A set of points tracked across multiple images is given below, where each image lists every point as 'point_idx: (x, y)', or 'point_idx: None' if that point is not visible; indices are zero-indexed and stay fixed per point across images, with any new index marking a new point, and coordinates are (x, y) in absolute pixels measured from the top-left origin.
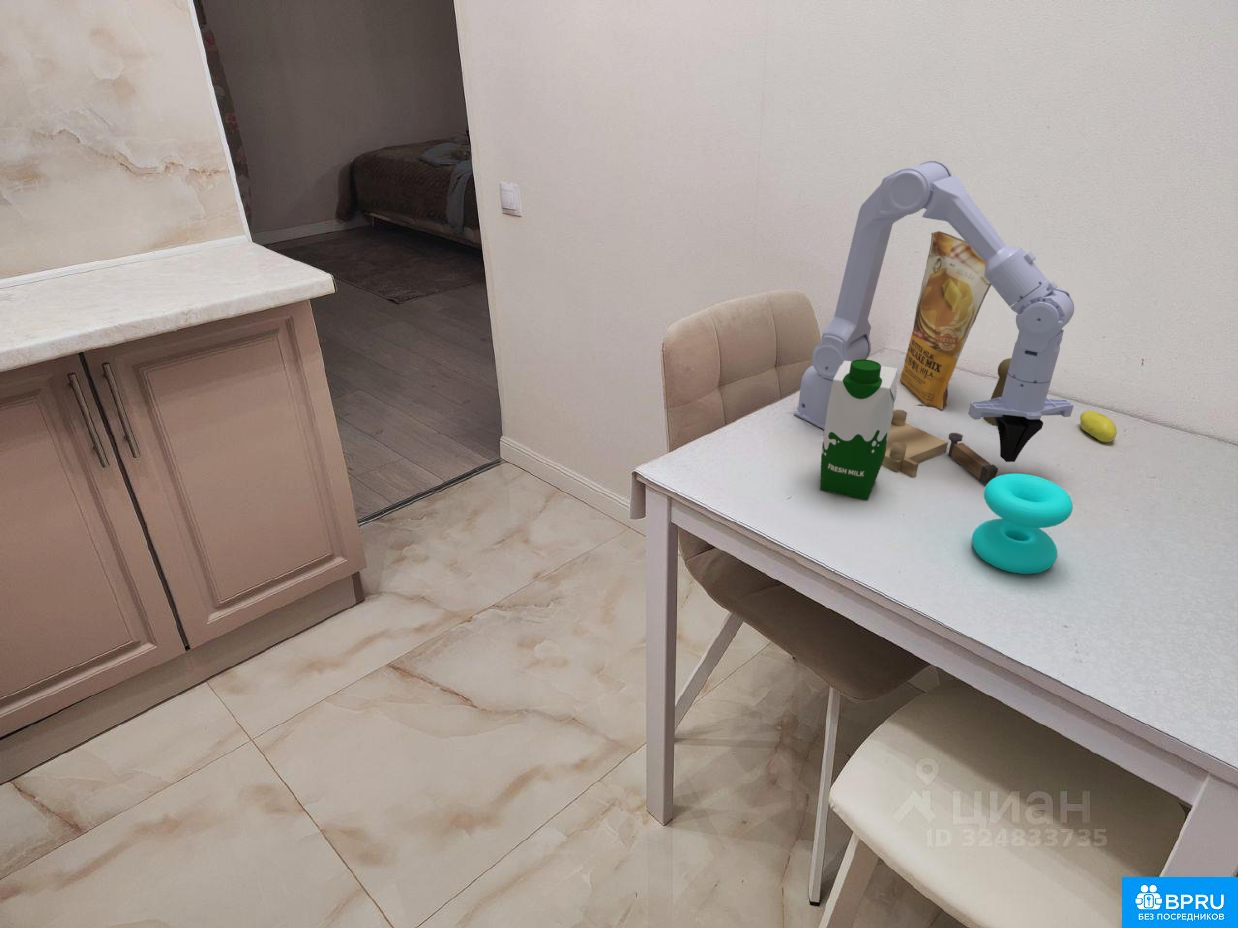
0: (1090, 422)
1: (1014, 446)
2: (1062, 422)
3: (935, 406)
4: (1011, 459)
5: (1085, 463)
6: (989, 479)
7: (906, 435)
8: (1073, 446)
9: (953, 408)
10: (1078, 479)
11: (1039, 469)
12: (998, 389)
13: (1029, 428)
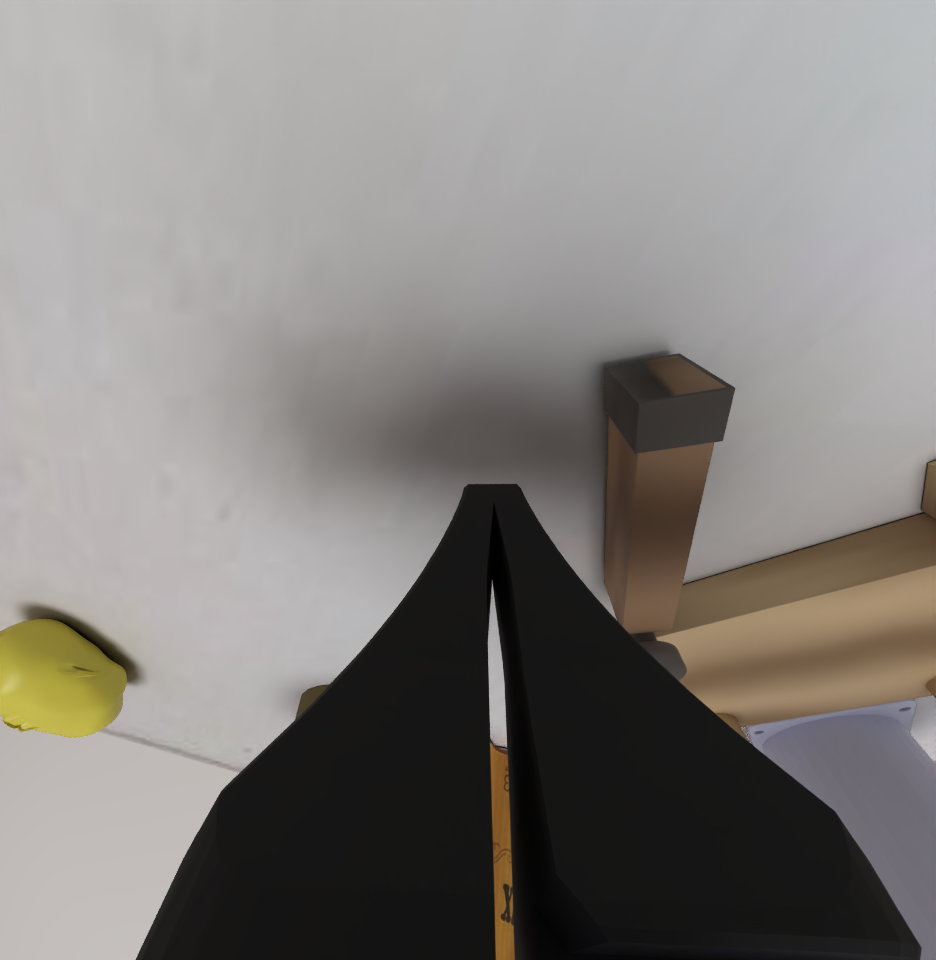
0: (73, 697)
1: (520, 559)
2: (185, 692)
3: (496, 748)
4: (496, 490)
5: (110, 518)
6: (657, 366)
7: (757, 679)
8: (157, 607)
9: None
10: (136, 398)
11: (309, 487)
12: None
13: (456, 833)
